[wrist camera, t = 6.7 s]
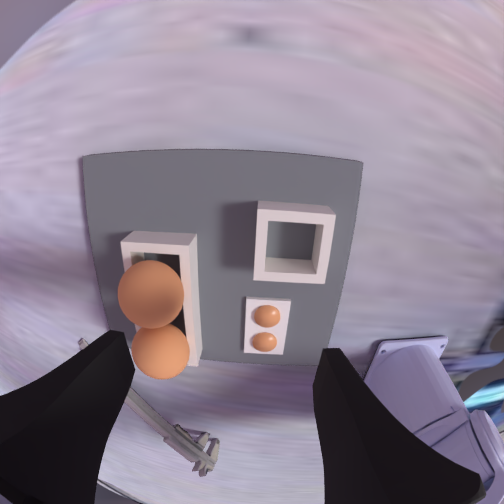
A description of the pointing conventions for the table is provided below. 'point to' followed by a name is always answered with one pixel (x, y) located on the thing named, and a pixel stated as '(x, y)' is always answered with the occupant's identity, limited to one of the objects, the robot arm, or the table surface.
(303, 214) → the tube
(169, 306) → the ball
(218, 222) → the mat
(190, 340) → the hollow rectangular frame
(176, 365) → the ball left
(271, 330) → the card
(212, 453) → the caliper
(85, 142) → the table surface
